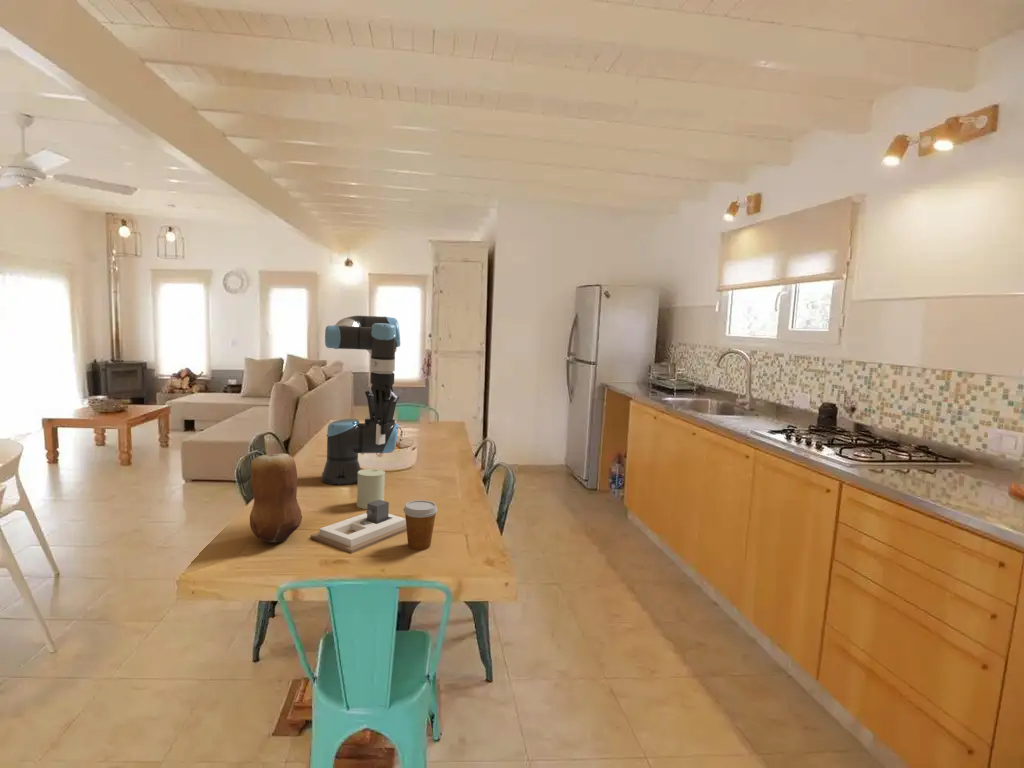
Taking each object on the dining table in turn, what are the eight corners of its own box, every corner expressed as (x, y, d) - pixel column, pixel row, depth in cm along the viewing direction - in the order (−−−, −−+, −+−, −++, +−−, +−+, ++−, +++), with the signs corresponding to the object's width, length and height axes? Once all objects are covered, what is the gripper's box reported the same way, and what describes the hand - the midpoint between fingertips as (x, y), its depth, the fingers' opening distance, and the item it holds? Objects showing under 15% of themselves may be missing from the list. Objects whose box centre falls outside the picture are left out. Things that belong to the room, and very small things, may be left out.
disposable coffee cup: (404, 539, 169) (405, 499, 168) (436, 539, 170) (438, 500, 168) (400, 552, 160) (401, 510, 158) (435, 552, 160) (437, 511, 159)
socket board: (310, 537, 166) (310, 526, 166) (374, 515, 187) (374, 505, 187) (351, 553, 157) (352, 541, 157) (414, 527, 178) (414, 517, 178)
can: (389, 503, 200) (390, 469, 199) (374, 511, 191) (375, 475, 190) (366, 499, 203) (367, 465, 202) (351, 506, 194) (351, 472, 193)
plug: (362, 527, 174) (363, 505, 173) (378, 521, 180) (379, 499, 179) (372, 530, 172) (372, 507, 171) (388, 524, 178) (388, 502, 177)
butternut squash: (263, 530, 170) (263, 447, 167) (308, 533, 169) (309, 449, 167) (239, 549, 156) (239, 458, 153) (288, 552, 156) (289, 461, 153)
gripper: (359, 370, 185) (357, 442, 188) (389, 375, 178) (386, 449, 182) (376, 368, 191) (374, 438, 195) (405, 373, 184) (403, 445, 188)
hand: (380, 443), depth 188 cm, fingers closed
